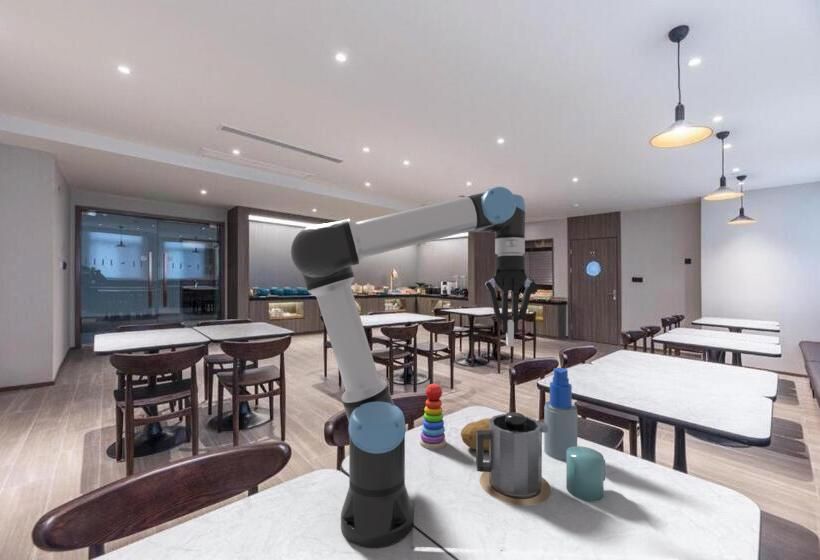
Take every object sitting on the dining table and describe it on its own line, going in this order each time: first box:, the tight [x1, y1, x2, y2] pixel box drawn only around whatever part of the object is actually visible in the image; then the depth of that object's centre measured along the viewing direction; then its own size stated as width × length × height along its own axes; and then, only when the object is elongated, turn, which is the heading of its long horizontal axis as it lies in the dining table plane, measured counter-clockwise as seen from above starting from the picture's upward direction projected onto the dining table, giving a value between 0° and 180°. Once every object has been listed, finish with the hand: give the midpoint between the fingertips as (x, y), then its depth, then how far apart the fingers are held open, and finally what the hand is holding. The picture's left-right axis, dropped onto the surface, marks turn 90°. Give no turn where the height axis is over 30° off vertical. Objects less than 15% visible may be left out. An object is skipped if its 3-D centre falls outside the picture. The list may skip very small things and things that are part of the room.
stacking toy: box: [419, 383, 447, 450], centre depth 112 cm, size 8×8×19 cm
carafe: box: [475, 413, 548, 499], centre depth 90 cm, size 17×12×15 cm
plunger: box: [505, 411, 525, 432], centre depth 90 cm, size 9×9×12 cm
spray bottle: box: [543, 367, 578, 462], centre depth 106 cm, size 9×9×25 cm
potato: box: [460, 417, 492, 452], centre depth 109 cm, size 9×16×9 cm, turn 88°
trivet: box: [479, 472, 553, 507], centre depth 90 cm, size 17×17×1 cm
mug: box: [565, 445, 606, 502], centre depth 87 cm, size 10×8×10 cm
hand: (509, 345), depth 96 cm, fingers closed
